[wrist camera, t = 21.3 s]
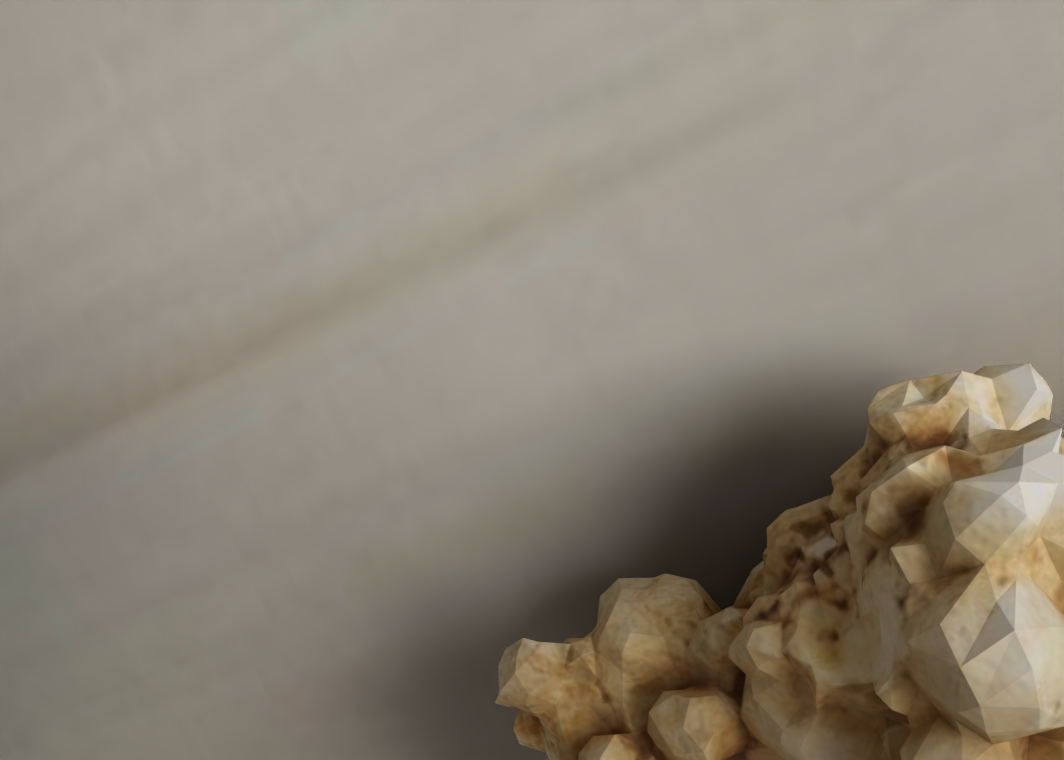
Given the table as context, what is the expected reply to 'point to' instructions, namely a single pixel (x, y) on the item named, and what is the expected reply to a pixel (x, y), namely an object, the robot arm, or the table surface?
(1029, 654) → the mineral formation
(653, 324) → the table surface
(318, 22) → the table surface
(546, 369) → the table surface
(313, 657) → the table surface
